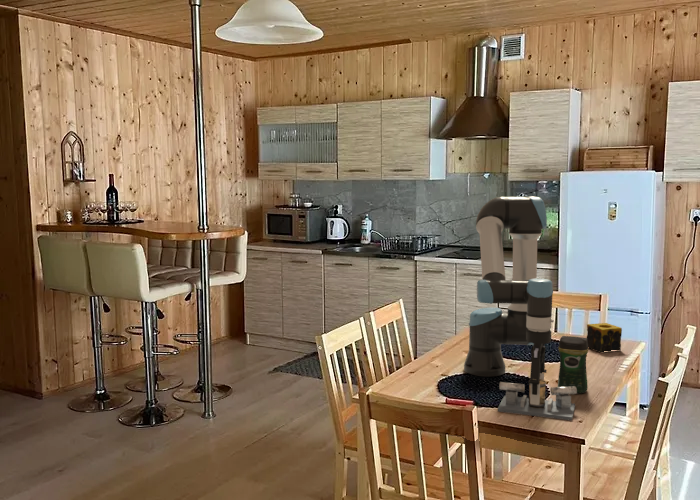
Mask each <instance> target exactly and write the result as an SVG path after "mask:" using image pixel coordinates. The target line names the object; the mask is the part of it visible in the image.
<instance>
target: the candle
mask: <svg viewBox="0 0 700 500" xmlns="http://www.w3.org/2000/svg"><path fill="white" fill-rule="evenodd" d="M586 331H587V334H586V338H587V341H588V347H589V348H592V349H594V350H597V351H600V352H604V351H611V350H620V351H621V348H622V344H621V343H622V331H623V329H622V327H620V326H617V325H615V324H611V323H609V322H601V323H600V322H598V323H588V324H586ZM592 349H591V350H592ZM594 350H593V351H594ZM597 351H596V352H597ZM600 352H599V353H600Z"/></svg>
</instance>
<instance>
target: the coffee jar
mask: <svg viewBox="0 0 700 500" xmlns="http://www.w3.org/2000/svg"><path fill="white" fill-rule="evenodd" d="M558 353H559V357H560V358H559V360H560V361H559V369H558V378H557V387H569V386H575V387H576V389H577V393H576V394H584V393H587V391H588V389H589V388H588V387H589V386H588V373H587V355H588V353H589V348H588V341H587V337H580V336H572V335H570V336H569V335H568V336H567V335H562V336H561V337H560V339H559V343H558Z"/></svg>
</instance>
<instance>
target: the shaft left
mask: <svg viewBox="0 0 700 500" xmlns="http://www.w3.org/2000/svg"><path fill="white" fill-rule="evenodd" d="M525 386H526V385H525V383H524V384H523V383H516V382H515V383H514V382H508V381H507V382H505V381H499V386H498V387H499V388H498V389H499V390H501V391H505V396H506V404H508V405H516V403H517V397H518V396H519V395H518V394H519V393H520V392H521V393H525ZM518 392H519V393H518Z"/></svg>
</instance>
